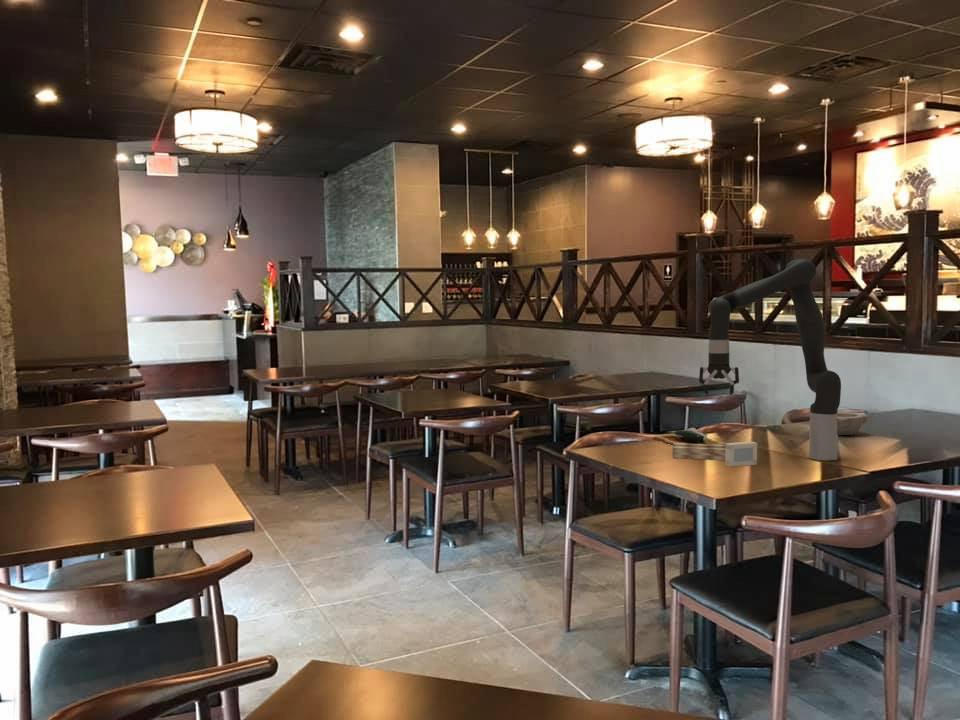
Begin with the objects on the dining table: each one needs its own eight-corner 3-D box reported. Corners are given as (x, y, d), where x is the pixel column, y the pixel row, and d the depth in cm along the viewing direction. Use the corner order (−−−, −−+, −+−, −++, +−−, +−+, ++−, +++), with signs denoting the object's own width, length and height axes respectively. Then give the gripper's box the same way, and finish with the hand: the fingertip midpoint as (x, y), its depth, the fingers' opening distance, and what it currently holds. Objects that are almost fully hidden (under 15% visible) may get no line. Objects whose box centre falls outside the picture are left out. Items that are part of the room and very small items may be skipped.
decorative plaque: (734, 430, 302) (696, 434, 293) (734, 448, 303) (696, 453, 294) (682, 420, 329) (646, 423, 321) (682, 436, 330) (646, 440, 321)
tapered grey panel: (751, 463, 273) (752, 441, 273) (756, 464, 270) (757, 443, 270) (725, 465, 271) (725, 443, 270) (729, 466, 268) (730, 444, 267)
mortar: (812, 432, 334) (813, 412, 334) (842, 430, 340) (843, 410, 339) (842, 439, 318) (842, 417, 318) (873, 436, 324) (873, 415, 323)
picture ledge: (749, 456, 284) (749, 446, 284) (751, 461, 275) (751, 450, 275) (673, 453, 292) (673, 443, 292) (672, 458, 283) (672, 447, 282)
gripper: (699, 352, 278) (699, 395, 280) (739, 352, 275) (739, 396, 276) (698, 351, 286) (699, 393, 287) (738, 350, 282) (738, 393, 283)
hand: (718, 394), depth 281 cm, fingers open, 8 cm apart
